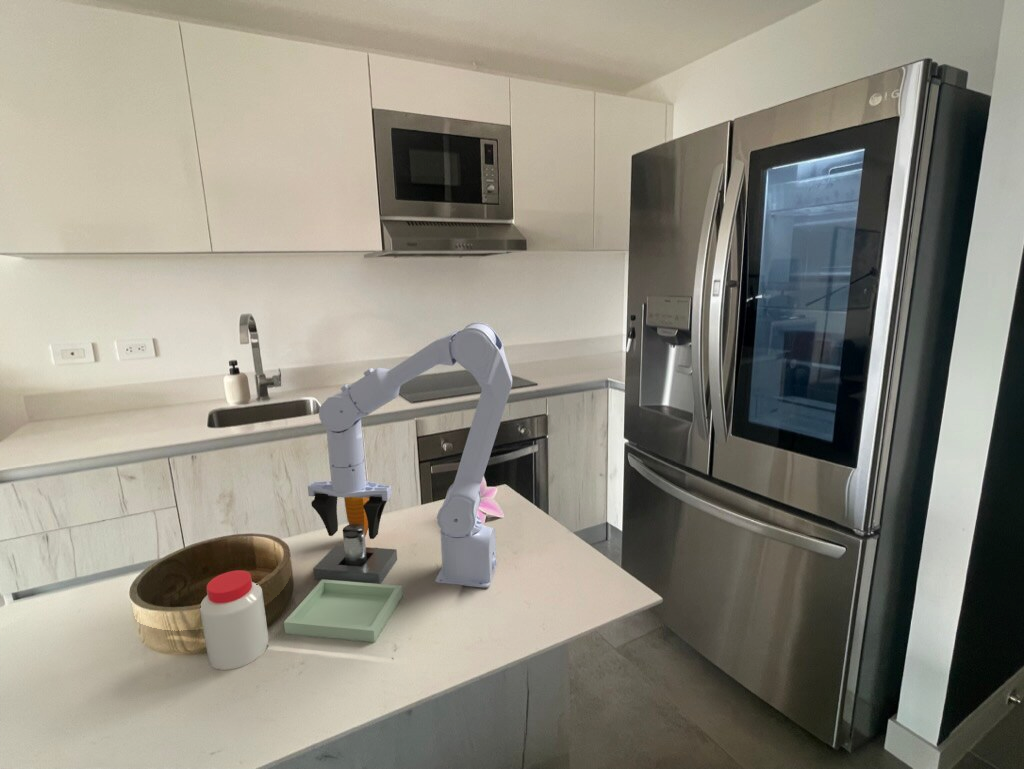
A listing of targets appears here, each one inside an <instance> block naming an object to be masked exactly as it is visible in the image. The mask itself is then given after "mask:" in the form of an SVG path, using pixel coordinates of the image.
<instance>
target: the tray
mask: <svg viewBox="0 0 1024 769" xmlns="http://www.w3.org/2000/svg"><path fill="white" fill-rule="evenodd" d="M402 598H403V586H402V585H395V584H384V583H381V584H373V583H361V582H349V581H336V580H324V579H322V580H319V581H318V583H317V585H315V586H314V587H313V589H312V590H311V591H310V593H308V595H307V596H306V597H305V598H304V599H303V600H302V601H301V602H300V604H298V606H296V608H295V609H294V610H293V611H292V612H291V613H290V614H289V615H288V617H287V618H286V619H285V620H284V622H283V626H284V634H285V635H291V636H292V635H295V636H303V637H314V638H324V639H325V638H326V639H333V640H334V639H335V640H343V641H345V640H346V641H353V642H354V641H355V642H361V643H362V642H363V643H365V642H366V643H374V644H375V643H376V642H377V640H378V638H379V637H380V635H381V633H382V632H383V629H384V628H385V626H386V625H387V623H388V621H389V620H390V618H391V616H392V615H393V613H394V611H395V610H396V608H397V606H398V605H399V603H400V601H401V600H402Z"/></svg>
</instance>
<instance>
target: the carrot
mask: <svg viewBox="0 0 1024 769" xmlns="http://www.w3.org/2000/svg"><path fill="white" fill-rule="evenodd" d="M343 498H344V507H345V511H346V513H345V514H346V518H347V521H348V525H350V524H362V525H363V526H364V533H365V537H366V536H367V534H368V532H369V531H368V520H367V516H366V513H365V510H364V507H363V505H364V504H365V503H366V502H367V501H369V498H360V497H343Z"/></svg>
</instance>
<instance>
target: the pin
mask: <svg viewBox="0 0 1024 769" xmlns="http://www.w3.org/2000/svg"><path fill="white" fill-rule="evenodd" d="M342 536H343V546H344V549H345V560H346V566H359V567H363V566H364V564H365V563H366V562H367V556H366V547H367V546H366V536H365V533H364V526H363V525H362V524H350V525H349V524H347V525H346V526H343V527H342Z"/></svg>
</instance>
